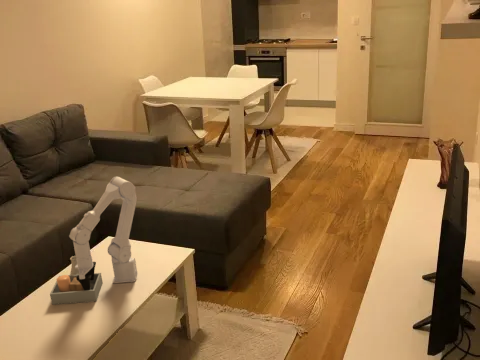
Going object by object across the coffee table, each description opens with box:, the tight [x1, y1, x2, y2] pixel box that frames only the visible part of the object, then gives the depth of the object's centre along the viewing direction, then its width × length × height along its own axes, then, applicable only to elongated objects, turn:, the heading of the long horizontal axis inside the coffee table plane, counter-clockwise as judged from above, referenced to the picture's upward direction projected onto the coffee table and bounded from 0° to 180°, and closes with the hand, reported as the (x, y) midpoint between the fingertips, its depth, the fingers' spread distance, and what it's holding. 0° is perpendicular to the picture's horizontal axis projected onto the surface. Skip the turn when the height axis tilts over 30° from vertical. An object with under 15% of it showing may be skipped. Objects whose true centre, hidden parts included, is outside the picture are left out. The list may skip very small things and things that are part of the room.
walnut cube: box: [70, 278, 84, 292], centre depth 212 cm, size 5×5×5 cm
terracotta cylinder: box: [56, 274, 71, 292], centre depth 211 cm, size 5×5×7 cm
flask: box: [69, 255, 79, 275], centre depth 222 cm, size 7×7×10 cm
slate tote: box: [49, 272, 104, 306], centre depth 212 cm, size 17×13×5 cm
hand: (89, 284), depth 212 cm, fingers open, 7 cm apart
